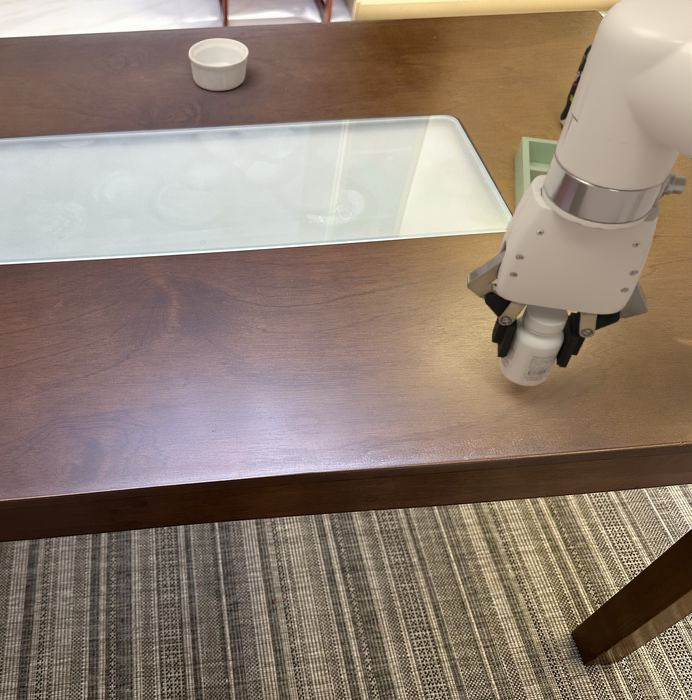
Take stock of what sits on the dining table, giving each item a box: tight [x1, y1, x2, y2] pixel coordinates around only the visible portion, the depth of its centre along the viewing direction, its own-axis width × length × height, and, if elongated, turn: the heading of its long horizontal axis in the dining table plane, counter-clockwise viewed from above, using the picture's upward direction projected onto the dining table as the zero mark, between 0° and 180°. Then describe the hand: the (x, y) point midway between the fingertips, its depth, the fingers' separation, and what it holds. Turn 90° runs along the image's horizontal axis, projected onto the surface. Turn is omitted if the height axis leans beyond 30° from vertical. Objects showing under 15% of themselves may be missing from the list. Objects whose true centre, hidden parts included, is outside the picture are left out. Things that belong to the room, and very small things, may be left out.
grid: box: [514, 136, 559, 212], centre depth 88 cm, size 14×14×4 cm
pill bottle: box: [499, 304, 569, 387], centre depth 65 cm, size 4×4×8 cm
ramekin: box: [188, 37, 250, 92], centre depth 108 cm, size 9×9×4 cm
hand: (531, 349), depth 66 cm, fingers closed on pill bottle, 4 cm apart
